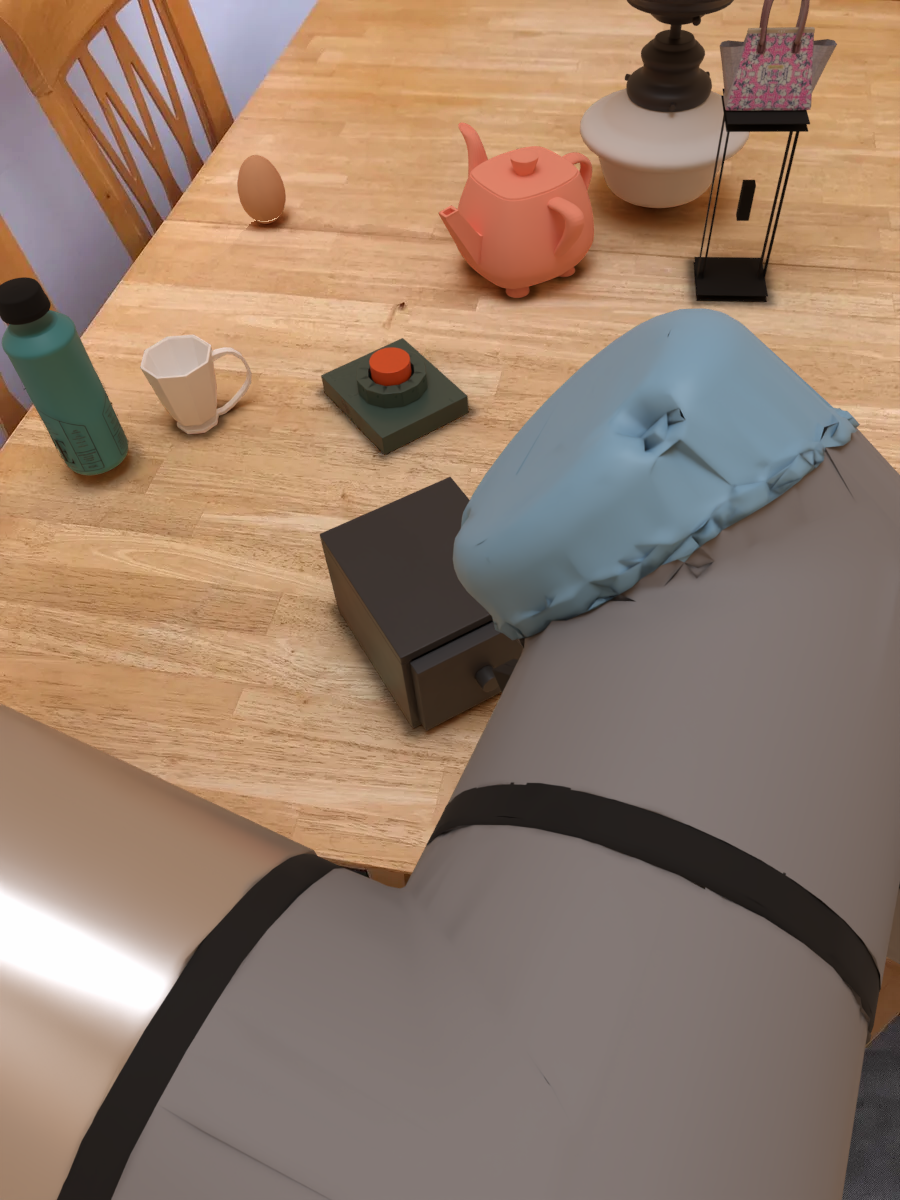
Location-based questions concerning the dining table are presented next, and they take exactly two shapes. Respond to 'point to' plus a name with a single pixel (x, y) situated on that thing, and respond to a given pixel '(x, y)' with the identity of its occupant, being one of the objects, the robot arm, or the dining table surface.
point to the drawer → (460, 673)
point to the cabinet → (403, 583)
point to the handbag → (761, 104)
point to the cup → (189, 380)
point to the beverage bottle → (60, 379)
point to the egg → (261, 189)
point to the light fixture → (663, 116)
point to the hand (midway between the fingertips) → (511, 684)
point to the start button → (390, 366)
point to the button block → (395, 399)
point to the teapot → (522, 214)
